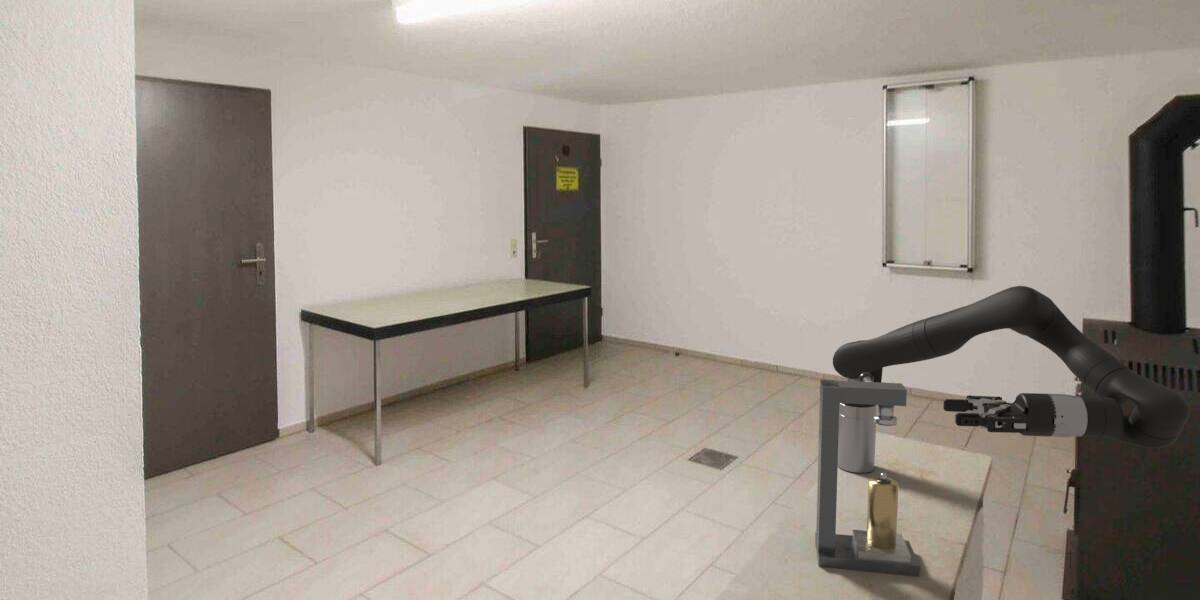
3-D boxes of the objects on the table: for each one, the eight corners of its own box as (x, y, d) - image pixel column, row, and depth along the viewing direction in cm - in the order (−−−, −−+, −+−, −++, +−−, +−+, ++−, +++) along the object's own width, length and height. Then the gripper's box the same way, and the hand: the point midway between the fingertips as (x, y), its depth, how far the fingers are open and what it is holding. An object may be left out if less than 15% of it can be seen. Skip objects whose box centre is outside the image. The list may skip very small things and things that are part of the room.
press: (900, 532, 142) (907, 371, 138) (919, 576, 125) (928, 394, 121) (812, 524, 146) (816, 368, 142) (818, 566, 129) (823, 389, 125)
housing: (860, 538, 132) (863, 470, 131) (883, 534, 134) (886, 467, 132) (878, 550, 127) (881, 480, 126) (902, 546, 129) (905, 476, 127)
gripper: (1035, 383, 128) (940, 381, 131) (1068, 406, 114) (960, 403, 118) (1033, 422, 129) (939, 419, 132) (1065, 449, 115) (959, 445, 119)
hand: (949, 411), depth 125 cm, fingers open, 8 cm apart
